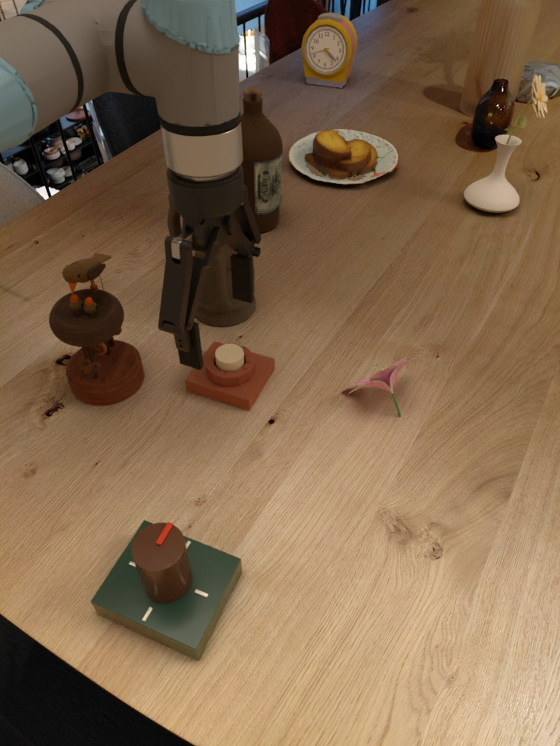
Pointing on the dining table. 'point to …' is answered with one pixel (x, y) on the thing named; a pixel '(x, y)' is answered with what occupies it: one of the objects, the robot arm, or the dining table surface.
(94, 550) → the dining table surface
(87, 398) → the music box
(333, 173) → the food on plate
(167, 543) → the knob
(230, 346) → the button
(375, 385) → the lily
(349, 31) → the alarm clock
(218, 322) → the beer stein
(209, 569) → the panel
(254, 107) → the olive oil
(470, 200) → the flower in vase
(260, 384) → the button block
